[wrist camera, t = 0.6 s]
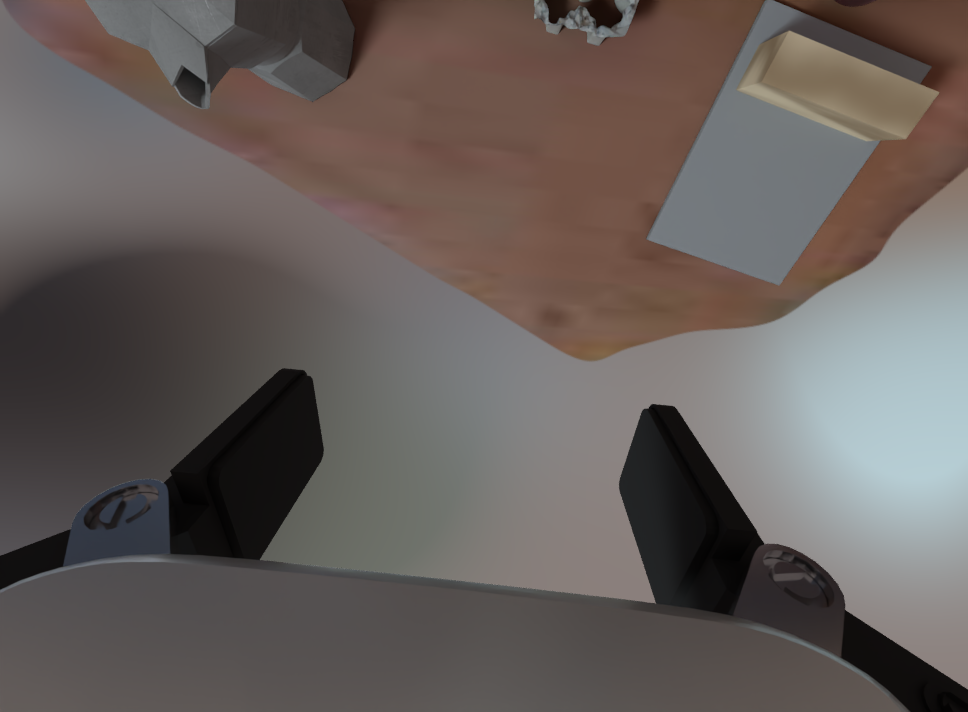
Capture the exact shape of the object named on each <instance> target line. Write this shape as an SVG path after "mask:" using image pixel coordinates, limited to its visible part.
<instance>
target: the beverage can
mask: <svg viewBox="0 0 968 712" xmlns="http://www.w3.org/2000/svg"><path fill="white" fill-rule="evenodd" d="M835 1H836V2H838V3H839V4H841V5H844V6H849V7H857V6H862V5H866V4H869V3H871V2H873V1H876V0H835Z"/></svg>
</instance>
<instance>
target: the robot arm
mask: <svg viewBox="0 0 968 712" xmlns="http://www.w3.org/2000/svg"><path fill="white" fill-rule="evenodd" d="M323 451H324V448H323V442H322V435H321V429H320V423H319V416H318V410H317V404H316V399H315V391H314V385H313V380H312V378H311V377H310V376H307V374H306V372H305V371H304V370H295V369H285V368H284V369H281V370H279V371H278V372H277V373H276V374H275V375H274V376H273V377H272V378H271V379H269V381H267V382H266V383H265V384H264V385H263V386H262V387H261V388H260V389H259V390H258V391H256V392H255V393H254V394H253V395H252V396H251V397H250V398H249V399H248V400H247V401H246V402H245V403H244V404H242V405H241V406H240V407H239V408H238V409H237V410H236V411H235V412H234V413H233V414H231V415H230V416H229V417H228V418H227V419H226V420H225V421H224V422H223V423H222V424H221V425H220V426H218V427H217V428H216V429H215V430H214V431H213V432H212V433H211V434H210V435H209V436H208V437H206V438H205V439H204V440H203V441H202V442H201V443H200V444H199V445H198V446H197V447H196V448H195V449H193V450H192V451H191V452H190V453H189V454H188V455H187V456H186V457H185V458H184V459H183V460H182V461H180V462H179V463H178V464H177V465H176V466H175V467H174V468H173V469H172V470H171V471H170V472H171V474H172V476H171V477H170V478H169V479H167V480H166V481H165V482H164V483H163V482H161V481H160V480H154V479H139V480H135V481H130V482H126V483H123V484H120V485H118V486H115V487H112V488H110V489H108V490H106V491H105V492H103V493H101V494H99V495H97V496H96V497H94V498H93V499H92V500H90V501H89V502H88V503H87V504H85V505H84V506H83V507H82V508H81V510H79V512H78V513H77V514H76V516H75V518H74V520H73V522H72V527H71V529H70V530H67V531H64V532H62V533H59V534H57V535H54V536H51V537H49V538H46V539H43V540H41V541H38V542H35V543H33V544H30V545H28V546H25V547H23V548H20V549H17V550H15V551H12V552H9V553H7V554H4V555H1V556H0V712H968V689H966V688H965V687H963V686H961V685H960V684H958V683H957V682H955V681H953V680H952V679H951V678H949V677H948V676H946V675H944V674H943V673H941V672H940V671H938V670H937V669H935V668H934V667H932V666H931V665H929V664H928V663H926V662H924V661H923V660H921V659H920V658H918V657H917V656H915V655H914V654H912V653H910V652H909V651H907V650H906V649H904V648H903V647H901V646H900V645H898V644H897V643H895V642H894V641H892V640H890V639H889V638H887V637H886V636H884V635H883V634H881V633H880V632H878V631H877V630H875V629H873V628H872V627H870V626H869V625H867V624H865V623H864V622H863V621H861V620H860V619H858V618H856V617H855V616H853V615H852V614H850V613H849V612H847V611H846V610H845V600H844V595H843V593H842V591H841V590H840V588H839V586H838V584H837V583H836V582H835V581H834V579H833V578H832V577H831V576H830V575H829V573H828V572H826V570H824V569H823V568H822V567H821V566H820V565H818V564H817V563H816V562H815V561H813V560H812V559H810V558H809V557H807V556H805V555H804V554H803V553H800V552H798V551H796V550H794V549H792V548H790V547H786V546H783V545H779V544H764V543H763V541H762V540H761V538H760V537H759V535H758V533H757V531H756V529H755V527H754V526H753V524H752V523H751V521H750V520H749V518H748V517H747V515H746V514H745V512H744V511H743V509H742V508H741V506H740V505H739V503H738V502H737V500H736V499H735V497H734V496H733V494H732V492H731V491H730V489H729V488H728V486H727V485H726V484H725V482H724V480H723V479H722V477H721V476H720V474H719V473H718V471H717V470H716V468H715V467H714V465H713V464H712V462H711V461H710V459H709V457H708V456H707V454H706V453H705V451H704V450H703V448H702V447H701V445H700V444H699V442H698V441H697V439H696V438H695V436H694V435H693V433H692V432H691V430H690V429H689V427H688V426H687V424H686V422H685V421H684V419H683V418H682V416H681V415H680V413H679V412H678V411H677V409H676V408H675V407H673V406H666V405H656V404H652V405H651V406H650V407H649V409H644V410H643V411H642V413H641V416H640V419H639V422H638V425H637V428H636V431H635V434H634V437H633V440H632V443H631V446H630V450H629V452H628V456H627V459H626V462H625V465H624V468H623V471H622V474H621V477H620V481H619V489H620V494H621V496H622V500H623V503H624V506H625V509H626V512H627V515H628V518H629V521H630V524H631V527H632V531H633V534H634V537H635V540H636V543H637V546H638V549H639V552H640V555H641V558H642V561H643V564H644V567H645V570H646V574H647V576H648V580H649V583H650V586H651V589H652V592H653V595H654V598H655V601H656V604H655V603H647V602H640V601H632V600H625V599H617V598H608V597H599V596H589V595H581V594H573V593H564V592H555V591H546V590H538V589H529V588H528V589H527V588H520V587H511V586H501V585H493V584H484V583H475V582H465V581H456V580H447V579H438V578H428V577H419V576H410V575H400V574H391V573H382V572H372V571H362V570H352V569H343V568H333V567H323V566H314V565H303V564H294V563H284V562H274V561H263V560H260V558H261V557H262V555H263V553H264V552H265V550H266V549H267V547H268V545H269V544H270V542H271V541H272V539H273V537H274V536H275V534H276V532H277V531H278V529H279V528H280V526H281V524H282V523H283V521H284V520H285V518H286V517H287V515H288V513H289V512H290V510H291V509H292V507H293V505H294V503H295V502H296V501H297V499H298V497H299V496H300V494H301V493H302V491H303V489H304V488H305V486H306V484H307V483H308V481H309V480H310V478H311V476H312V475H313V473H314V472H315V470H316V468H317V467H318V465H319V464H320V462H321V460H322V457H323Z"/></svg>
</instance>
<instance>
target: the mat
mask: <svg viewBox="0 0 968 712" xmlns="http://www.w3.org/2000/svg"><path fill="white" fill-rule="evenodd" d="M787 31H792V32H794V33H796V34H799V35H801V36H804V37H806V38H809V39H811V40H813V41H816V42H818V43H821V44H823V45H826V46H828V47H830V48H833V49H835V50H838V51H840V52H843V53H845V54H847V55H850V56H852V57H855V58H857V59H860V60H862V61H865V62H867V63H869V64H872V65H874V66H877V67H879V68H882V69H884V70H886V71H889V72H891V73H894V74H896V75H899V76H901V77H903V78H906V79H908V80H911V81H913V82H916V83H918V84H920V83H921V82H922V80H923V79H924V77H925V76H926V75H927V73H928V72H929V70H930V69H931V67H932V66H929V65H927V64H925V63H922V62H920V61H917V60H915V59H913V58H910V57H908V56H905V55H903V54H901V53H898V52H896V51H893V50H891V49H889V48H886V47H884V46H881V45H879V44H877V43H874V42H872V41H869V40H867V39H865V38H862V37H860V36H857V35H855V34H853V33H850V32H848V31H845V30H843V29H841V28H838V27H836V26H833V25H831V24H829V23H826V22H824V21H821V20H819V19H817V18H814V17H812V16H810V15H807V14H805V13H802V12H800V11H798V10H795V9H793V8H790V7H788V6H786V5H783V4H781V3H778V2H776V1H774V0H765V1H764V3H763V5H762V7H761V9H760V11H759V13H758V15H757V17H756V19H755V21H754V23H753V26H752V28H751V30H750V32H749V34H748V36H747V38H746V40H745V42H744V44H743V46H742V48H741V50H740V52H739V54H738V56H737V58H736V60H735V62H734V64H733V66H732V68H731V70H730V72H729V74H728V76H727V78H726V80H725V82H724V84H723V86H722V88H721V90H720V92H719V94H718V96H717V98H716V100H715V102H714V104H713V106H712V108H711V110H710V112H709V114H708V116H707V118H706V120H705V122H704V124H703V126H702V128H701V130H700V132H699V134H698V136H697V138H696V140H695V142H694V144H693V146H692V148H691V150H690V152H689V154H688V156H687V158H686V160H685V162H684V164H683V166H682V168H681V170H680V172H679V174H678V176H677V178H676V180H675V182H674V184H673V186H672V188H671V190H670V192H669V194H668V196H667V198H666V200H665V202H664V204H663V206H662V208H661V210H660V212H659V214H658V216H657V218H656V220H655V222H654V224H653V226H652V228H651V230H650V232H649V234H648V236H647V238H646V239H647V240H650V241H653V242H655V243H658V244H661V245H664V246H667V247H670V248H673V249H676V250H679V251H681V252H684V253H687V254H690V255H693V256H696V257H699V258H702V259H704V260H707V261H710V262H713V263H716V264H719V265H722V266H725V267H727V268H730V269H733V270H736V271H739V272H742V273H745V274H748V275H750V276H753V277H756V278H759V279H762V280H765V281H768V282H771V283H774V284H776V285H780V284H781V282H782V281H783V279H784V278H785V277H786V275H787V274H788V272H789V271H790V269H791V268H792V267H793V265H794V264H795V262H796V261H797V259H798V258H799V256H800V255H801V254H802V252H803V251H804V249H805V248H806V246H807V245H808V244H809V242H810V241H811V239H812V238H813V236H814V235H815V234H816V232H817V231H818V229H819V228H820V226H821V225H822V224H823V222H824V221H825V219H826V218H827V216H828V215H829V214H830V212H831V211H832V209H833V208H834V206H835V205H836V203H837V202H838V201H839V199H840V198H841V196H842V195H843V193H844V192H845V191H846V189H847V188H848V186H849V185H850V183H851V182H852V181H853V179H854V178H855V176H856V175H857V173H858V172H859V171H860V169H861V168H862V166H863V165H864V163H865V162H866V160H867V159H868V158H869V156H870V155H871V153H872V152H873V150H874V149H875V148H876V146H877V145H878V143H879V142H880V141H864V140H862V139H859V138H857V137H854V136H852V135H849V134H847V133H844V132H841V131H839V130H836V129H834V128H831V127H829V126H826V125H824V124H821V123H819V122H816V121H813V120H811V119H808V118H806V117H803V116H801V115H798V114H796V113H793V112H790V111H788V110H785V109H783V108H780V107H778V106H775V105H773V104H770V103H767V102H765V101H762V100H760V99H757V98H755V97H752V96H750V95H747V94H744V93H742V92H739V91H737V90H736V89H737V87H738V85H739V83H740V81H741V79H742V77H743V75H744V73H745V71H746V69H747V67H748V65H749V63H750V62H751V60H752V58H753V56H754V54H755V52H756V50H757V48H758V46H759V44H762V43H764V42H766V41H768V40H770V39H772V38H774V37H776V36H779V35H781V34H783V33H785V32H787Z"/></svg>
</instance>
